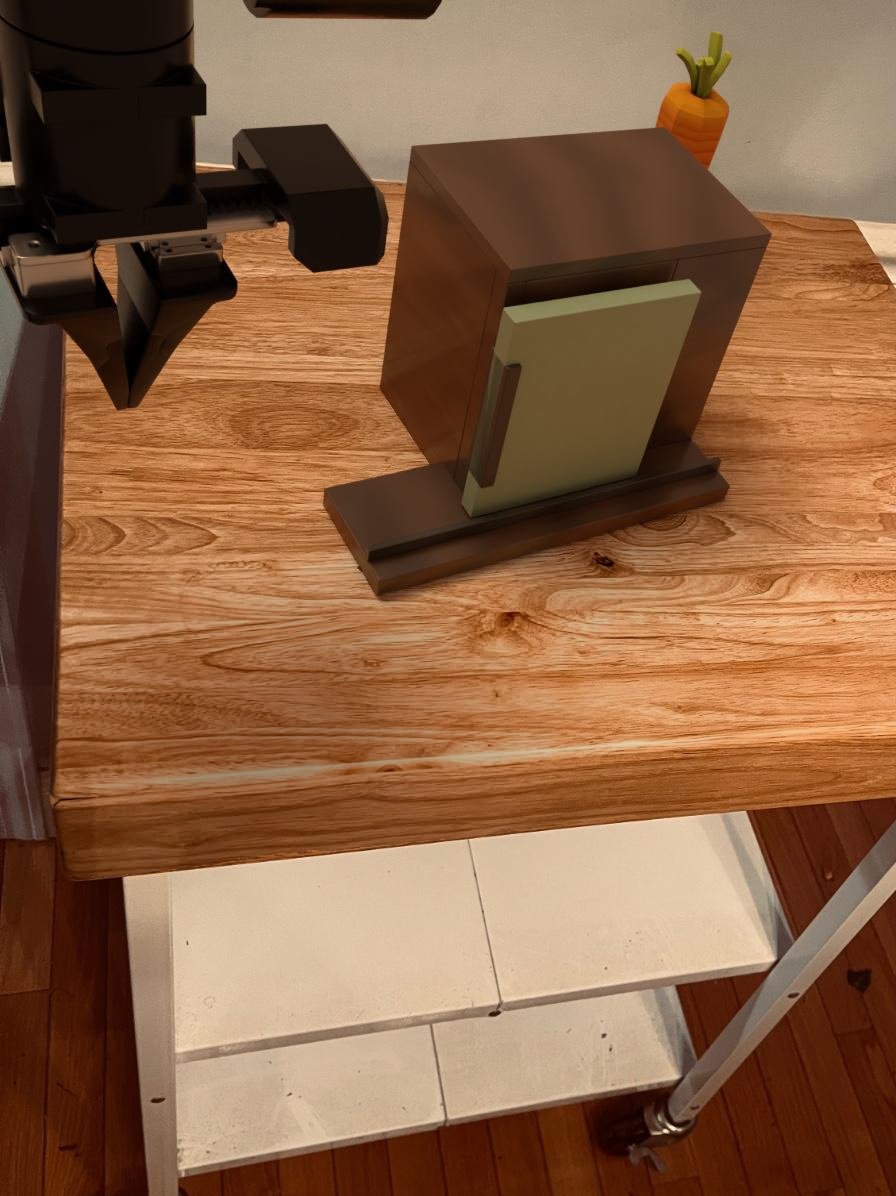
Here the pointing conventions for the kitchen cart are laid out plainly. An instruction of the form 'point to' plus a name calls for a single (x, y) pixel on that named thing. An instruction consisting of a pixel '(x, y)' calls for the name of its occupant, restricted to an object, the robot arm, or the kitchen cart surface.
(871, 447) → the kitchen cart surface
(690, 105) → the carrot
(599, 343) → the door
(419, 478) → the cabinet
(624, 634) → the kitchen cart surface
